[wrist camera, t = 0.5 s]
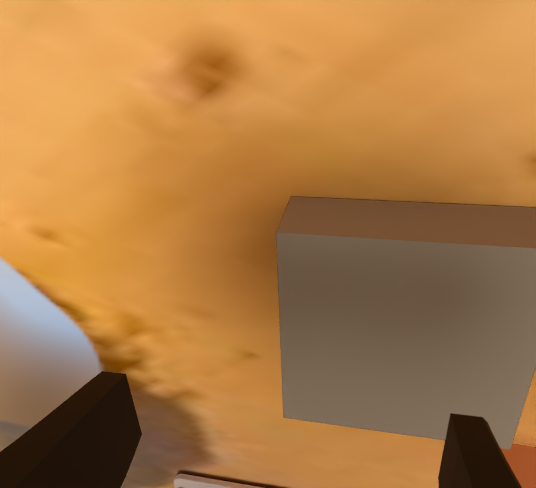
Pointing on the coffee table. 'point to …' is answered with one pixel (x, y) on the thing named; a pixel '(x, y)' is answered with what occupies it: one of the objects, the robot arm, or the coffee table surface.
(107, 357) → the coffee table surface
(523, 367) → the gray block
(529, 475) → the terracotta block
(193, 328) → the coffee table surface
